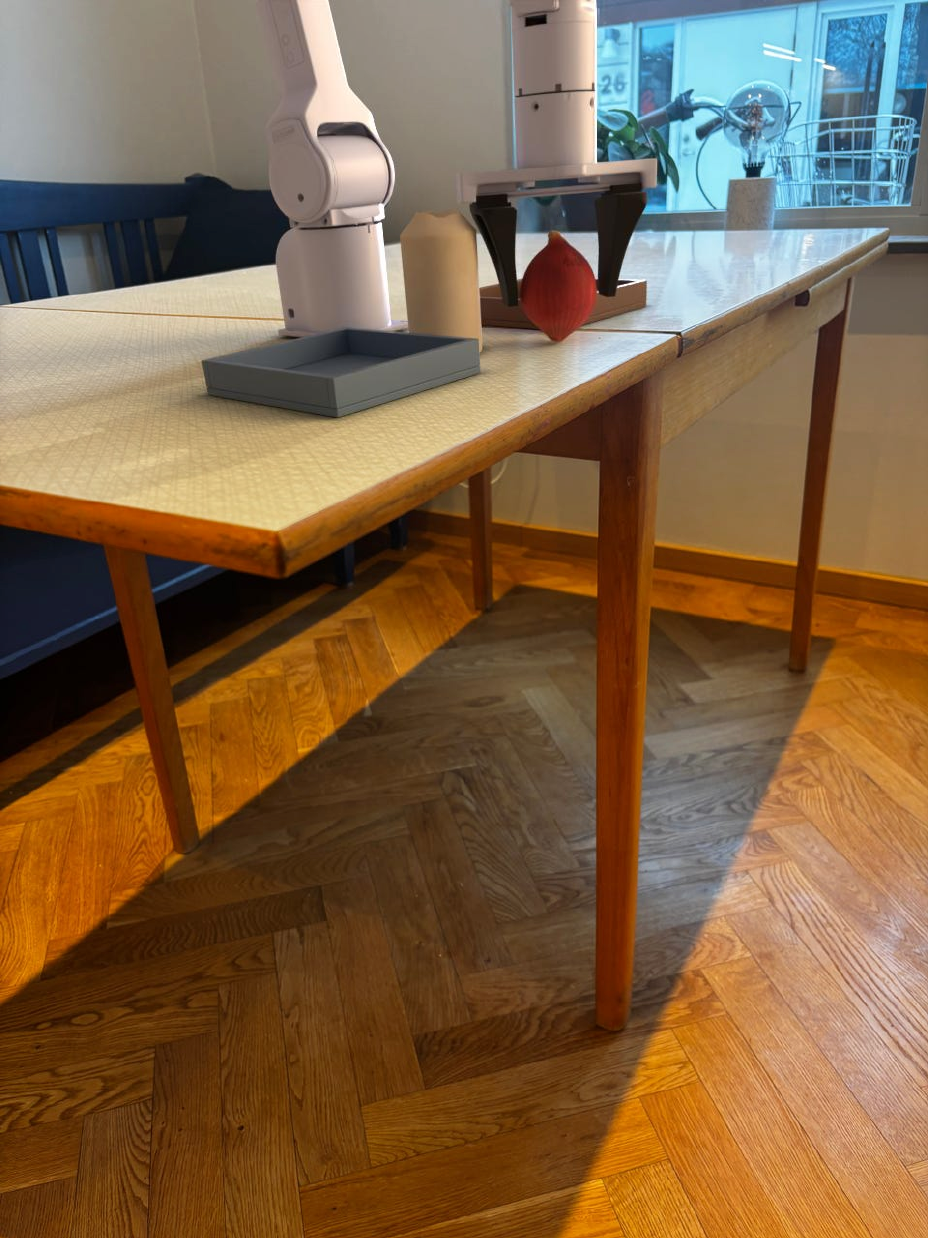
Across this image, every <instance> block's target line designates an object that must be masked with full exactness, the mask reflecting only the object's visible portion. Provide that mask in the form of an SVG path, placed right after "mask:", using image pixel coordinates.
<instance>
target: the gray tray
mask: <svg viewBox="0 0 928 1238" xmlns="http://www.w3.org/2000/svg"><path fill="white" fill-rule="evenodd" d="M480 353H481V352H479V339H476V338H465V337H453V336H442V335H430V334H419V333H409V332H406V331H397V330H396V331H384V330H372V329H361V328H349V327H346V328H341V329H337V330H332V331H328V332H324V333H319V334H315V335H311V336H306V337H296V338H294V339H289V340H285V341H281V342H276V343H271V344H267V345H263V346H259V347H254V348H249V349H246V350H241V351H236V352H231V353H227V354H223V355H219V356H215V357H210V358H206V359H202V360H201V366H202V367H201V368H202V372H203V377H204V383H205V387H206V393H207V396H213V397H220V398H225V399H231V400H236V401H242V402H247V403H252V404H257V405H258V404H259V405H265V406H270V407H276V408H281V409H287V410H291V411H299V412H303V413H310V414H315V415H320V416H327V417H332V418H342V417H345V416H348V415H351V414H354V413H357V412H360V411H364V410H367V409H370V408H373V407H376V406H380V405H383V404H386V403H389V402H392V401H396V400H399V399H402V398H405V397H408V396H412V395H414V394H417V393H421V392H424V391H428V390H431V389H434V388H437V387H441V386H443V385H446V384H449V383H453V382H455V381H459V380H463V379H465V378H469V377H472V376H475V375H478V374H481V373H482V372H481V357H480V356H481V355H480Z"/></svg>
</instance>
